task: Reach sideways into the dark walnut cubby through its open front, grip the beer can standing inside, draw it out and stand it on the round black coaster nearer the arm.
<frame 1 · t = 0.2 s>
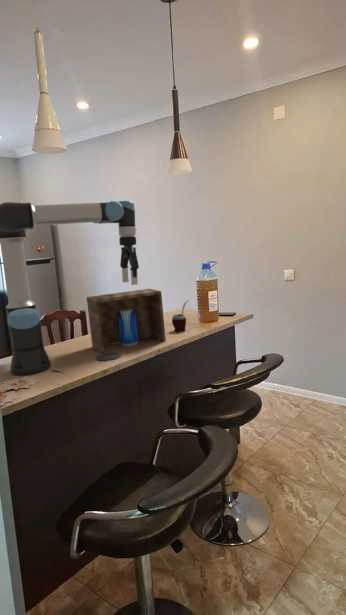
hand: (130, 283, 189), 27 cm above the countertop, tool pointing down, fingers open, 13 cm apart
mate gourd: (180, 331, 208), on the countertop
cubby: (129, 344, 189), on the countertop
coaster: (108, 357, 170), on the countertop
beer can: (129, 344, 189), resting in cubby
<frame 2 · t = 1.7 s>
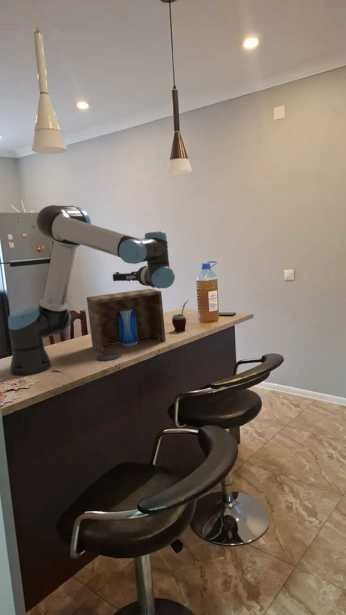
hand: (130, 274, 172), 33 cm above the countertop, tool horizontal, fingers open, 13 cm apart
nothing on the countertop moved.
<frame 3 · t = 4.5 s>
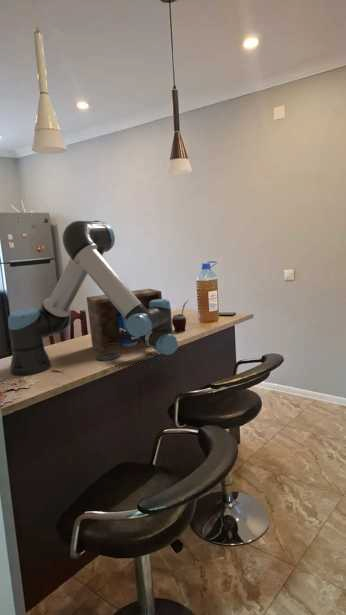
hand: (135, 328, 178), 9 cm above the countertop, tool horizontal, fingers open, 13 cm apart
nothing on the countertop moved.
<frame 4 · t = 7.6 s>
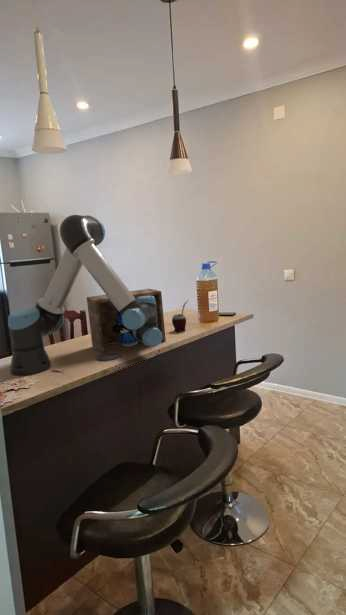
hand: (124, 323, 191), 9 cm above the countertop, tool horizontal, fingers closed on beer can, 8 cm apart
beer can: (129, 344, 189), resting in cubby, touching gripper
everything else where it was.
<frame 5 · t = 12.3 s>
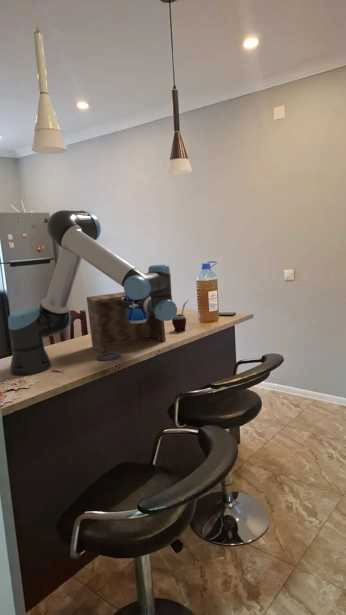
hand: (132, 299, 176), 22 cm above the countertop, tool horizontal, fingers closed on beer can, 8 cm apart
beer can: (138, 322, 173), point 13 cm above the countertop, touching gripper
everything else where it was.
when the fingers open (11 cm above the countertop, at t = 16.9 s): beer can drops 1 cm, resting on coaster.
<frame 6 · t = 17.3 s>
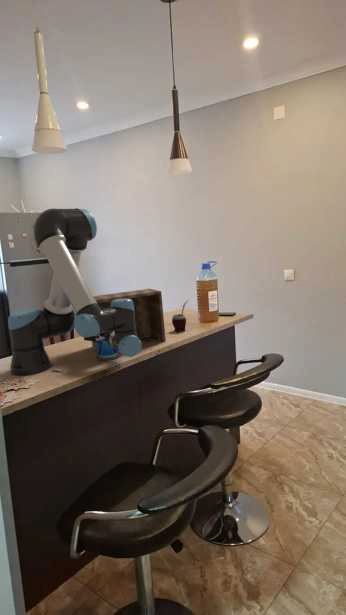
hand: (103, 329, 171), 11 cm above the countertop, tool horizontal, fingers open, 13 cm apart
beer can: (108, 356, 169), resting on coaster
everything else where it was.
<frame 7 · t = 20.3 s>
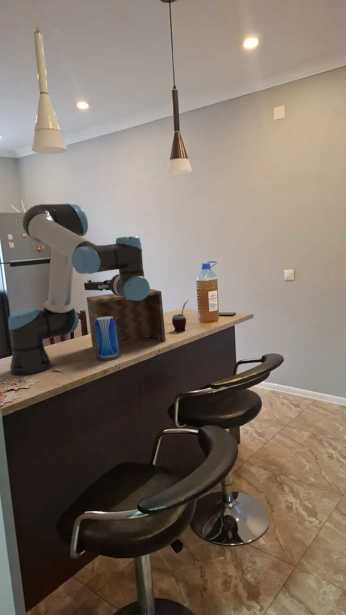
hand: (106, 282, 156), 32 cm above the countertop, tool horizontal, fingers open, 13 cm apart
nothing on the countertop moved.
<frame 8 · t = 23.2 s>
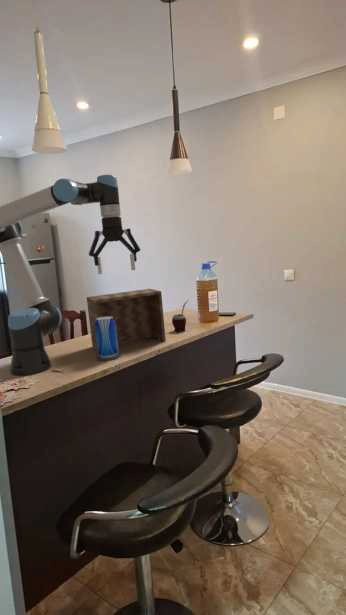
hand: (117, 272, 162), 35 cm above the countertop, tool pointing down, fingers open, 13 cm apart
nothing on the countertop moved.
at the end: beer can 0.2 cm from the coaster (horizontally); beer can tilted 0°; the gripper is holding nothing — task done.
